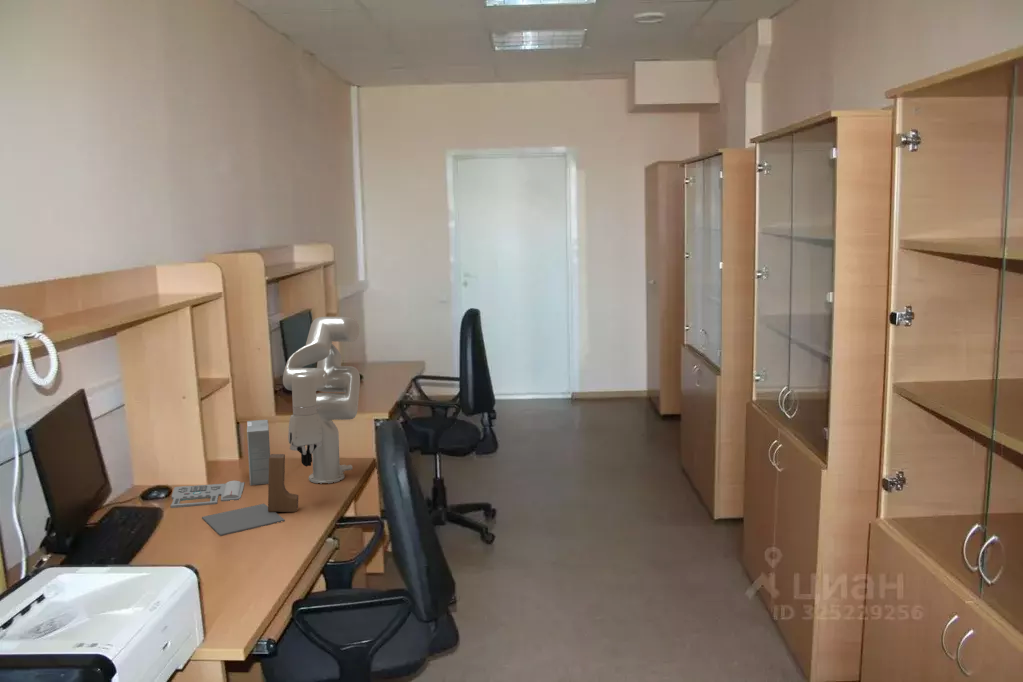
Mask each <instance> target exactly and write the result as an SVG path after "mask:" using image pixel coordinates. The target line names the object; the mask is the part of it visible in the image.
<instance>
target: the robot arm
mask: <svg viewBox="0 0 1023 682" xmlns="http://www.w3.org/2000/svg"><path fill="white" fill-rule="evenodd" d="M359 335H360V326H359V323H358V321H357V319H355V318H352V317H348V316H318V317H316V318H314V319H313V321H312V322H311V323H310V328H309V331H308V335H307V339H306V342H305V345H304V346H302V347H300V348H298V349H297V350H296V351H295V352H294V353H292V354H291V355H290V356H289V357H288V359H287V361H286V364H285V368H284V371H283V374H282V384H283V386H284V388H285V389H286V390H288V391H291V393H292V395H291V397H292V414H291V415H290V417H289V422H288V444H290V445H289V450H290V451H296V452H298V453H300V455H301V456H300V458H301V459H300V460H301V461H300V462H301V464H302V465H303V466H304V467H306V468H307V467H311V466H312V472H311V474H309V476H308V481H309V482H311V483H314V484H318V483H320V484H319V485H321V484H322V483H328V484H334V483H338V482H341V481H342V480H344V479H345V471H347V472H348V471H352V470H353V465H352V464H348V465H346V463H345V464H340V435H339V432H340V431H339V429H338V427H337V425H336V424H335V422H334V420H335V421H340V420H341V421H345V420H349V421H350V420H353V419H355V417H356V416H357V415H358V409H359V397H360V388H361V387H360V386H361V377H360V372H359V370H358V368H357V367H355V366H351V365H349V366H348V365H345V366H344V365H342V358H343V357H342V354H341V351H339V349H338V348H337V347H336V346H335V345H334V344H333V342H338V343H339V342H341V343H342V342H343V343H344V342H348V343H349V342H351V343H352V342H355V341H356V340H357V339H358V337H359ZM315 363H317V365H316V367H306V366H309V365H313V364H315ZM318 391H319V393H317V392H318ZM340 480H341V481H340ZM333 482H334V483H333Z"/></svg>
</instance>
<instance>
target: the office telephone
mask: <svg viewBox="0 0 1023 682" xmlns="http://www.w3.org/2000/svg"><path fill="white" fill-rule="evenodd" d="M244 487H245V481H243V482H241V481H240V480H230V481H227V482H226V483H212V484H200V485H199V484H198V485H197V484H196V485H183V486H174V487H173V490H172V494H171V500H172V502H171V504H170V508H171V509H177V508H187V507H199V506H202V507H203V506H211V505H217V504H218V501H219V496H220V502H231V501H230V500H234V501H239V499H240V498H242V496H241V495H242V494H243V491H244ZM202 499H203V500H204V499H209V501H199V502H198V501H197V502H188V503H187V502H186V503H181V501H190V500H202ZM240 500H241V499H240Z"/></svg>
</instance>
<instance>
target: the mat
mask: <svg viewBox="0 0 1023 682" xmlns="http://www.w3.org/2000/svg"><path fill="white" fill-rule="evenodd" d="M201 519H202V520H203V521H204V522H205V523H206V524H207V525H208V526H209V527H210V528H211V529H212V530H213V531H214V532H215V533H216V534H217V535H218V536H219V537H221V536H227V535H231V534H234V533H240V532H243V531H249V530H252V529H257V528H261V526H262V527H266V526H271V525H274V524H273V523H275V524H278V523H277V522H279V523H282V522H281V521H283V522H285V521H286V519H284V517H282V516H281V515H280V514H278V512H268V504H267V505H266V504H265V503H261V504H256V505H251V506H247V507H241V508H237V509H233V510H228V511H222V512H219V513H218V512H217V513H214V514H210V515H204V516H201ZM265 525H266V526H265ZM248 529H249V530H248Z"/></svg>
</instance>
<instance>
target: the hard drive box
mask: <svg viewBox="0 0 1023 682" xmlns="http://www.w3.org/2000/svg"><path fill="white" fill-rule="evenodd" d="M246 440H247V454H248V456H247V457H248V459H247V460H248V475H249V477H248V478H249V486H260V485H268V484H269V457H270V455H271V444H270V442H271V441H270V427H269V420H268V419H258V420H247V421H246Z"/></svg>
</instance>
